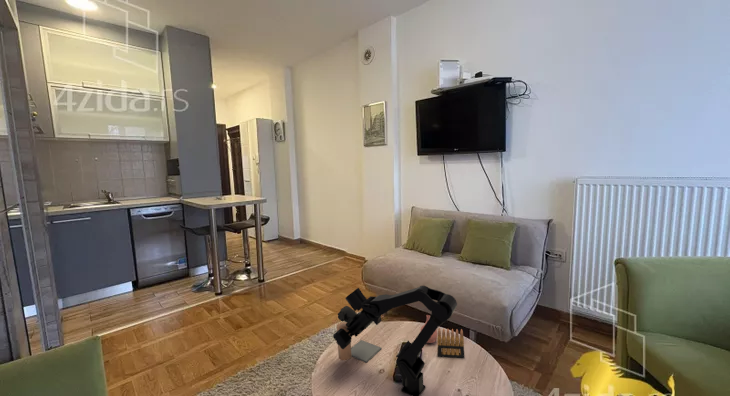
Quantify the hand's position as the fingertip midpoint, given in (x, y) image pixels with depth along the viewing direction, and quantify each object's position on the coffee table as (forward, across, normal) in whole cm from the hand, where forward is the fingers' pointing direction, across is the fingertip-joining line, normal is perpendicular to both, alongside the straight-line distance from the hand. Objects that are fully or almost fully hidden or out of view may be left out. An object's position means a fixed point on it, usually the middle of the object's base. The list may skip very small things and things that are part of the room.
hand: (341, 339), depth 121 cm
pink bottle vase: (-11, -31, +26) cm, 41 cm away
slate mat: (+5, -11, +10) cm, 15 cm away
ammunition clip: (-19, -24, +34) cm, 46 cm away
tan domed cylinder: (+4, 0, +6) cm, 7 cm away
